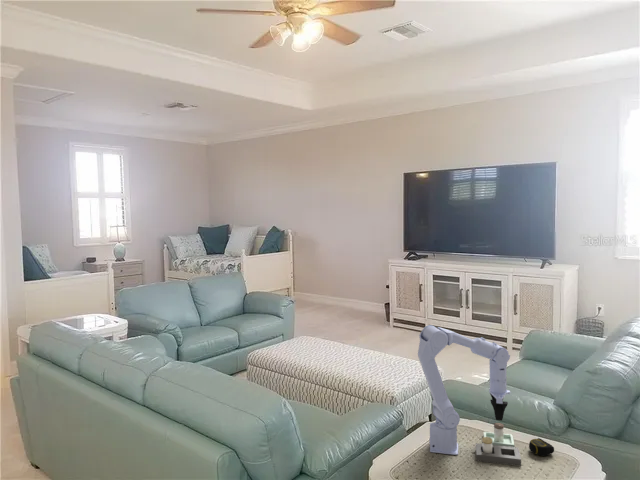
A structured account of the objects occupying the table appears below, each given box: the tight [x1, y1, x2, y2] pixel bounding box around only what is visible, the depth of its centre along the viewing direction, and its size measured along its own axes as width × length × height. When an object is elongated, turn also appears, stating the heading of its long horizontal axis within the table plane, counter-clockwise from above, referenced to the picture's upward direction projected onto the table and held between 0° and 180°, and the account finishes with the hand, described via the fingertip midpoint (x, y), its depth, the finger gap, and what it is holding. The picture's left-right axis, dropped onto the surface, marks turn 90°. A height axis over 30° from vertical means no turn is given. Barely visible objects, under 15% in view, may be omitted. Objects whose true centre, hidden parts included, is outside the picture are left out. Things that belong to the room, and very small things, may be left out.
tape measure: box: [528, 437, 555, 457], centre depth 166 cm, size 7×7×4 cm
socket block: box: [475, 443, 522, 467], centre depth 164 cm, size 14×8×2 cm, turn 73°
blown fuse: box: [493, 422, 505, 443], centre depth 174 cm, size 3×3×6 cm
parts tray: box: [483, 431, 515, 447], centre depth 174 cm, size 10×8×2 cm
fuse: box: [481, 436, 492, 454], centre depth 165 cm, size 3×3×6 cm
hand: (498, 415), depth 174 cm, fingers open, 7 cm apart
